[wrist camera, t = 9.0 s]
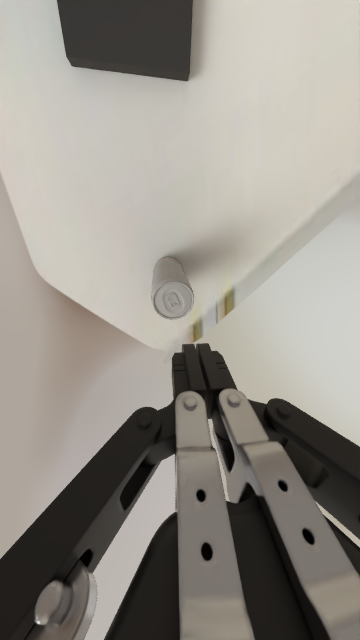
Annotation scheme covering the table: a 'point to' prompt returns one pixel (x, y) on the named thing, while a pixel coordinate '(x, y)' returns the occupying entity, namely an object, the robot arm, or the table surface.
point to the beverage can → (171, 290)
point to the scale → (129, 36)
